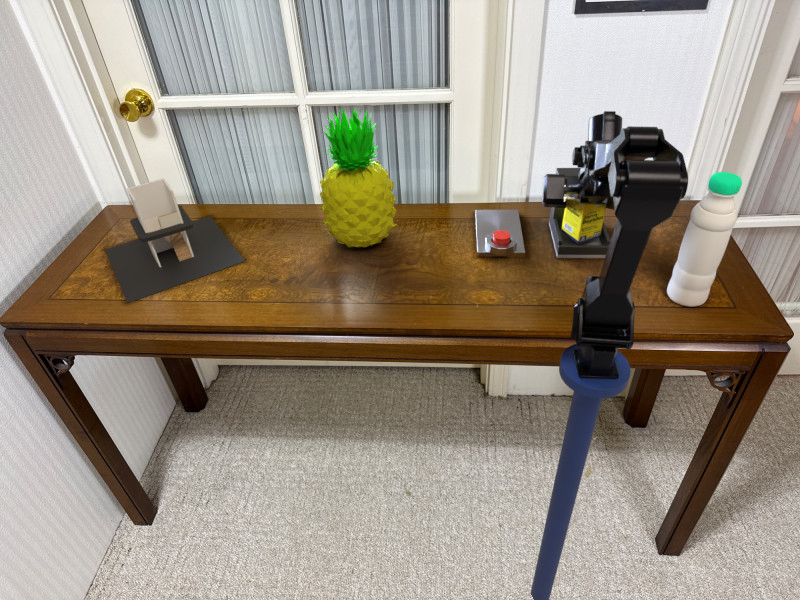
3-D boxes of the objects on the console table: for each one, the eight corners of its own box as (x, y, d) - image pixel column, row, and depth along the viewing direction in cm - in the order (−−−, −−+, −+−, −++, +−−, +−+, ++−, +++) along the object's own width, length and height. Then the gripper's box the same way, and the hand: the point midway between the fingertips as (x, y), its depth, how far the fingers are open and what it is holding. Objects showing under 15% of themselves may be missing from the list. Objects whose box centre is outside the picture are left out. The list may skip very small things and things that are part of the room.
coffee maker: (608, 258, 118) (621, 198, 110) (557, 258, 119) (566, 199, 111) (596, 224, 129) (607, 167, 120) (548, 223, 130) (556, 167, 121)
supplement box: (578, 244, 118) (586, 197, 111) (560, 231, 123) (567, 185, 116) (600, 237, 120) (610, 191, 113) (582, 225, 124) (590, 179, 118)
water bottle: (704, 288, 109) (748, 169, 94) (707, 311, 104) (754, 188, 88) (665, 282, 111) (702, 164, 96) (666, 304, 106) (704, 183, 90)
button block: (525, 260, 119) (526, 248, 117) (477, 260, 120) (478, 248, 118) (517, 214, 134) (518, 202, 132) (475, 214, 135) (475, 203, 133)
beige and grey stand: (127, 303, 114) (96, 234, 104) (104, 249, 131) (76, 185, 120) (244, 261, 124) (227, 194, 114) (210, 216, 140) (192, 154, 130)
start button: (510, 246, 119) (510, 239, 118) (493, 246, 119) (493, 239, 118) (509, 237, 122) (509, 230, 121) (492, 237, 122) (492, 230, 121)
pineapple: (320, 260, 123) (298, 126, 104) (329, 220, 136) (311, 95, 117) (396, 258, 122) (388, 123, 103) (399, 218, 135) (391, 92, 116)
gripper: (655, 138, 102) (632, 168, 118) (549, 136, 105) (541, 165, 121) (653, 197, 101) (630, 220, 116) (546, 194, 104) (538, 216, 119)
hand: (584, 204), depth 118 cm, fingers closed on supplement box, 8 cm apart
